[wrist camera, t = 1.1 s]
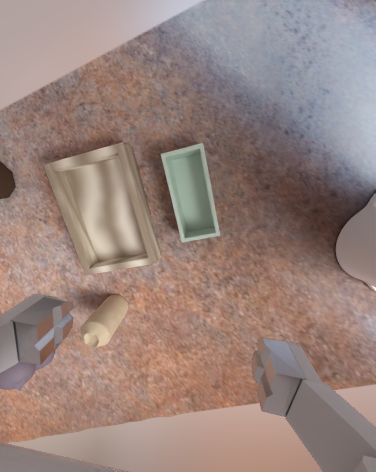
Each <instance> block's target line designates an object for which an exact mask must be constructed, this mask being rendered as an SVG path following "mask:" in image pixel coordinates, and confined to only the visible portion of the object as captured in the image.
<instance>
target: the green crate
mask: <svg viewBox="0 0 376 472" xmlns="http://www.w3.org/2000/svg"><path fill="white" fill-rule="evenodd" d="M161 158H162V162H163V166H164V170H165V174H166V179H167V183H168V187H169V191H170V195H171V199H172V204H173V208H174V212H175V216H176V220H177V224H178V229H179V233H180V237H181V241H182V243H183V242H188V241H193V240H199V239H204V238H210V237H215V236H220V231H219V226H218V221H217V215H216V210H215V204H214V199H213V194H212V188H211V183H210V177H209V172H208V167H207V161H206V156H205V150H204V145H203V143H200V144H197V145H193V146H189V147H185V148H181V149H178V150H174V151H170V152H166V153H163V154H161Z"/></svg>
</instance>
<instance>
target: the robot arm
mask: <svg viewBox="0 0 376 472" xmlns="http://www.w3.org/2000/svg"><path fill="white" fill-rule="evenodd" d="M336 256H337V260H338V262H339V264H340V266H341V267H342V269H343V270H344V271H345V272H346V273H348V274H349V275H351V276H353V277H355V278H357V279H360V280H362V281H364V282H365V283H366V284H367V285H368V286H369V287H370V288H371V289H372V290H374V291H376V193H375V194H374V195H373V196H372V198H371V199H370V201H369V202H368V204H367V205H366V206H365V207H364V208H363V209H362V210H361V211H359V212H358V213H357V214H356V215H354V216H353V217H352V218H351V219H350V220H349V221H348V222H347V223H346V225H345V226H344V227H343V229H342V230H341V232H340V234H339V237H338V239H337V244H336ZM72 309H73V304H72V302H71V301H70V300H66V299H61V298H57V297H52V296H46V295H42V294H33V295H32V296H30V297H28V298H27V299H25V300H24V301H22V302H21V303H19V304H17V305H16V306H14V307H13V308H11V309H10V310H8V311H7V312H5V313H3V314H2V315H0V373H1V372H3V371H5V370H7V369H8V368H10V367H12V366H14V365H15V364H17V363H18V361H20V362H26V363H32V364H37V365H41V364H42V363H43V362H44V361H45V360H46V359H47V358H48V357H49V355H50V354H51V353H52V352H53V351H54V350H55V344H57V343H59V342H61V341H63V340H64V339H65V338H66V337H67V335H68V334H69V332H70V330H71V328H72V325H73V316H72V315H71V314H70V311H71V310H72ZM256 345H257V348H258V350H256V351H255V352H254V353H253V357H252V365H251V367H252V374H253V378H254V380H255V381H256V383H257V384H258V385H259V386H258V389H257V395H258V398H259V402H260V406H261V410H262V411H263V412H267V413H271V414H276V415H280V416H284V417H286V419H287V421H288V422H289V424H290V425H291V427H292V428H293V430H295V432H296V434H297V435H298V437H299V438H300V440H301V441H302V442H303V444H304V445H305V447H306V448H307V449H308V451H309V452H310V454H311V455H312V457H313V458H314V460H315V461H316V462H317V464H318V465H319V467H320V468H321V470H322V471H323V472H376V427H375V426H374V425H373V424H372V423H371V422H369V421H368V420H367V419H366V418H365V417H364V416H363V415H362V414H360V413H359V412H358V411H357V410H356V409H355V408H354V407H352V406H351V405H350V404H349V403H348V402H347V401H346V400H344V399H343V398H342V397H341V396H340V395H338V394H337V393H336V392H335V391H334V390H333V389H332V388H331V387H329V386H328V385H327V384H323V383H322V382H321V380H320V378H319V377H318V375H317V373H316V371H315V370H314V368H313V366H312V365H311V363H310V361H309V360H308V358H307V356H306V355H305V353H304V351H303V350H302V348H301V346H300V345H299V344H298V343H294V342H288V341H281V340H275V339H270V338H264V337H259V338H258V340H257V343H256ZM0 472H128V471H124V470H119V469H114V468H111V467H106V466H102V465H98V464H93V463H89V462H84V461H80V460H76V459H71V458H67V457H63V456H58V455H54V454H50V453H45V452H41V451H36V450H32V449H28V448H24V447H19V446H15V445H11V444H6V443H2V442H0Z"/></svg>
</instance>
